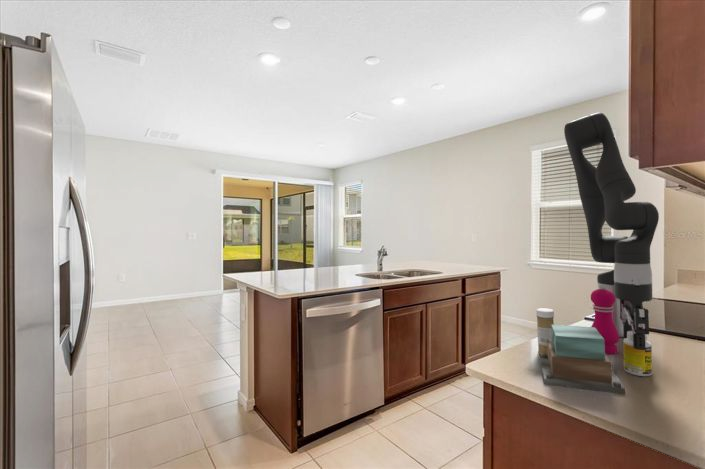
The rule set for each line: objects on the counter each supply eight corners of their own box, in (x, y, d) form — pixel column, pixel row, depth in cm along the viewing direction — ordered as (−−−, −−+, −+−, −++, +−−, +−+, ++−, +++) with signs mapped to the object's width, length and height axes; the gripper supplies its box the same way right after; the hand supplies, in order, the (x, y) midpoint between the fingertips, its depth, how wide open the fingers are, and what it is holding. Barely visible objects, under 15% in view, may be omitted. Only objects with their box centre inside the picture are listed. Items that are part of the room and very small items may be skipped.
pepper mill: (605, 356, 99) (603, 287, 98) (583, 347, 106) (581, 283, 105) (626, 353, 100) (624, 285, 100) (603, 344, 107) (601, 281, 107)
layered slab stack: (539, 359, 99) (538, 320, 99) (607, 366, 92) (606, 325, 92) (544, 383, 84) (543, 338, 84) (625, 394, 78) (623, 345, 77)
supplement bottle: (648, 379, 84) (647, 338, 84) (620, 372, 88) (619, 333, 88) (655, 372, 87) (654, 332, 87) (627, 366, 92) (626, 328, 91)
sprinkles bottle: (558, 354, 101) (556, 309, 101) (550, 358, 99) (548, 312, 99) (542, 350, 105) (541, 306, 105) (534, 354, 103) (533, 309, 102)
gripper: (607, 276, 95) (609, 334, 96) (621, 284, 83) (623, 351, 83) (642, 277, 92) (643, 337, 92) (662, 285, 79) (663, 355, 80)
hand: (633, 343), depth 88 cm, fingers open, 8 cm apart
